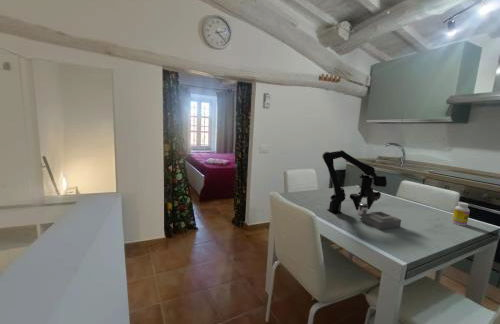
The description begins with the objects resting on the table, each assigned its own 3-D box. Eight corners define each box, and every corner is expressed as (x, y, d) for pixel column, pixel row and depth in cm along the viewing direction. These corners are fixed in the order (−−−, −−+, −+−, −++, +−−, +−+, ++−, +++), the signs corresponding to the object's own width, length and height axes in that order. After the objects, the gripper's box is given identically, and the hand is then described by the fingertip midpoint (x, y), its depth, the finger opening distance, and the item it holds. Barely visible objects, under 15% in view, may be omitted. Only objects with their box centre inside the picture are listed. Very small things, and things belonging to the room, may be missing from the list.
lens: (362, 216, 140) (363, 206, 139) (356, 213, 145) (357, 203, 144) (368, 216, 142) (370, 205, 141) (362, 213, 147) (363, 202, 146)
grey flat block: (379, 229, 123) (380, 219, 122) (361, 220, 134) (362, 211, 133) (400, 226, 129) (401, 217, 128) (381, 218, 140) (382, 209, 139)
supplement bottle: (463, 226, 133) (468, 205, 131) (449, 222, 139) (453, 202, 137) (468, 225, 136) (473, 204, 134) (454, 220, 142) (458, 200, 140)
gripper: (365, 189, 130) (361, 215, 132) (389, 188, 136) (385, 213, 139) (350, 184, 140) (347, 209, 143) (373, 183, 147) (370, 206, 149)
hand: (362, 209), depth 143 cm, fingers open, 9 cm apart
